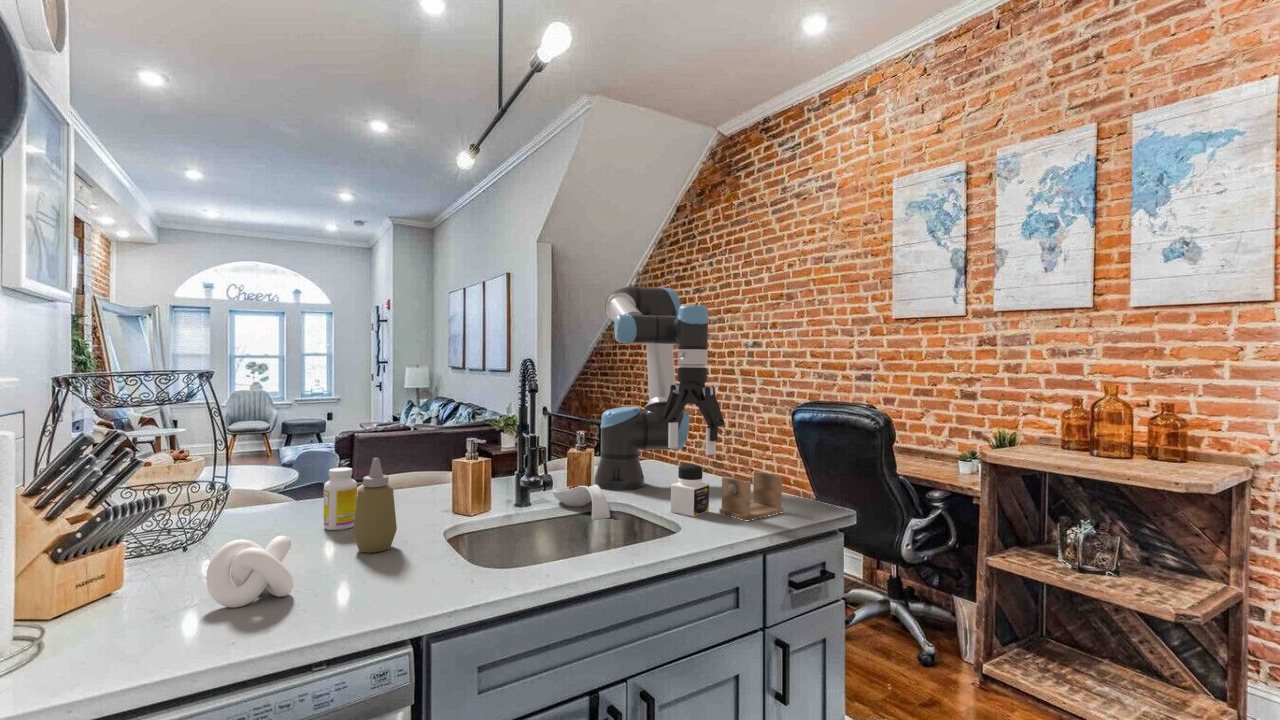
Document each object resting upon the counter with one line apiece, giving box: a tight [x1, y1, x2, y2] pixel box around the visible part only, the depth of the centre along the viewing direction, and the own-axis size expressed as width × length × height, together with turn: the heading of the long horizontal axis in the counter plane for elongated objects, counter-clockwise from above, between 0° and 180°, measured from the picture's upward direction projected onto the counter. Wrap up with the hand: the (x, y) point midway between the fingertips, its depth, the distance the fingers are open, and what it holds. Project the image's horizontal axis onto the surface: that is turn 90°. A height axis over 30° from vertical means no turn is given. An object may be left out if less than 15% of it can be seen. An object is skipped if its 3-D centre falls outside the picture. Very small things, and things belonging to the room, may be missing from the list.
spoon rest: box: [552, 484, 611, 521], centre depth 153 cm, size 24×12×7 cm, turn 28°
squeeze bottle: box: [352, 457, 398, 553], centre depth 118 cm, size 8×8×18 cm
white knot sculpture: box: [205, 535, 294, 609], centre depth 95 cm, size 11×12×9 cm
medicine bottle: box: [670, 463, 710, 518], centre depth 151 cm, size 7×7×12 cm
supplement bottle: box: [323, 467, 358, 531], centre depth 133 cm, size 7×7×13 cm
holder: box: [718, 471, 785, 521], centre depth 150 cm, size 9×15×9 cm, turn 129°
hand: (691, 451), depth 150 cm, fingers open, 13 cm apart
